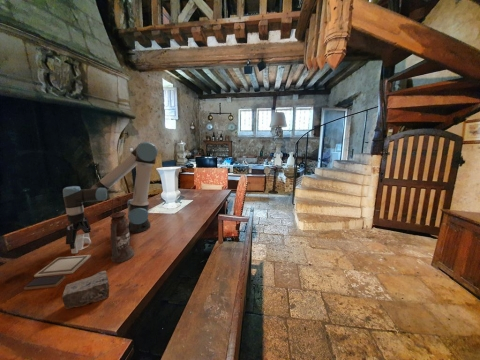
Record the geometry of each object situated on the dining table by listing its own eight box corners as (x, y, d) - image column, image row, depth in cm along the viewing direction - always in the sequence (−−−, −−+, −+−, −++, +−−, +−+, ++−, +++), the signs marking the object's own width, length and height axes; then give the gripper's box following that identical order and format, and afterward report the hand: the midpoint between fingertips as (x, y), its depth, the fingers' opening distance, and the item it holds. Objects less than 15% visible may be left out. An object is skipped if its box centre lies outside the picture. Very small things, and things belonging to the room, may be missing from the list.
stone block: (111, 283, 82) (109, 268, 80) (110, 297, 74) (108, 281, 73) (69, 297, 74) (66, 281, 73) (64, 314, 67) (60, 296, 65)
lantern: (103, 266, 93) (94, 202, 86) (120, 248, 108) (113, 193, 102) (126, 265, 94) (118, 201, 87) (139, 247, 110) (133, 192, 103)
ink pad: (65, 277, 85) (65, 274, 84) (56, 286, 79) (55, 283, 79) (36, 280, 83) (35, 277, 82) (24, 289, 77) (23, 286, 77)
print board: (90, 256, 101) (90, 254, 101) (72, 273, 88) (72, 271, 87) (58, 258, 98) (57, 257, 98) (34, 277, 85) (33, 275, 85)
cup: (75, 246, 110) (72, 234, 108) (94, 244, 113) (92, 232, 111) (68, 253, 103) (65, 240, 102) (88, 250, 106) (86, 238, 105)
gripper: (81, 206, 114) (87, 238, 118) (51, 221, 92) (58, 260, 96) (95, 206, 115) (99, 237, 120) (67, 220, 93) (74, 258, 98)
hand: (81, 247), depth 108 cm, fingers open, 10 cm apart
